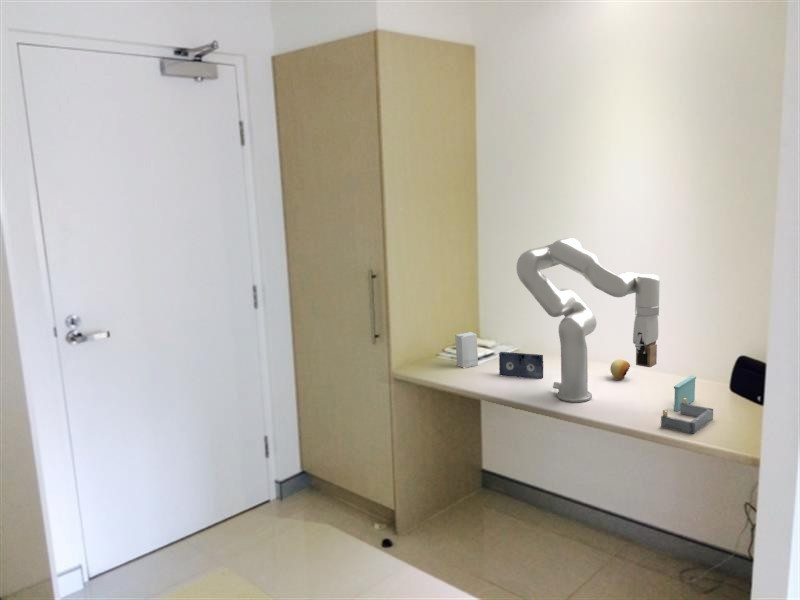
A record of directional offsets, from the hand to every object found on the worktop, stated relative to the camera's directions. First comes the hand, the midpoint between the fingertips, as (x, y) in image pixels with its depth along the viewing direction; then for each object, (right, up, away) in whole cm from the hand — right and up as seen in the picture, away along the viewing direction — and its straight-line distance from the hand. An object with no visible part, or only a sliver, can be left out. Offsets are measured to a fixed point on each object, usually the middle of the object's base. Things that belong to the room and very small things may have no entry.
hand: (646, 361), depth 222 cm
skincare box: (-55, -9, +68) cm, 88 cm away
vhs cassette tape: (-34, -11, +48) cm, 60 cm away
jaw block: (0, -1, 0) cm, 1 cm away
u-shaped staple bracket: (+9, -19, -11) cm, 24 cm away
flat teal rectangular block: (+15, -16, +5) cm, 23 cm away
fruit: (+4, -11, +38) cm, 40 cm away
